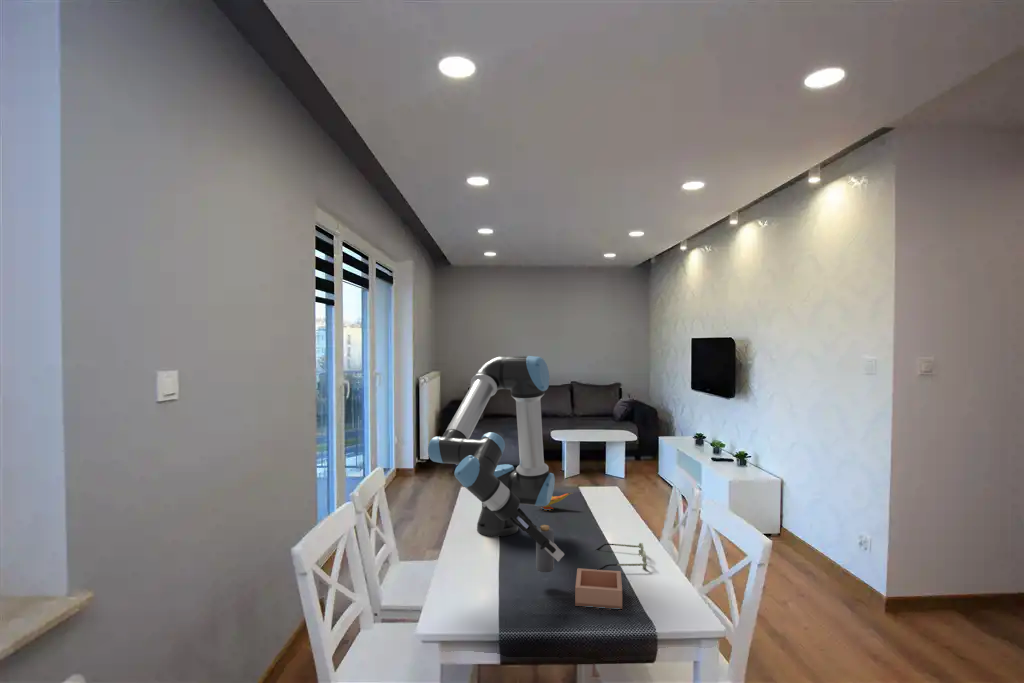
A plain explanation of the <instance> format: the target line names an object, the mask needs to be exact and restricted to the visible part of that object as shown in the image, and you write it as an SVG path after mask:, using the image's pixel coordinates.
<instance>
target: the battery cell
mask: <svg viewBox="0 0 1024 683" xmlns="http://www.w3.org/2000/svg"><path fill="white" fill-rule="evenodd" d="M537 529H538V530H539V531H540V532H541V533H542V534H543V535H544V536H545V537H546V538H548V539H549V540H550V541H551V542H552V543H553V544H554V543H555V538H554V537H555V535H554V534H555V531H554V528H553V527H550V525H548V524H541V525H540V526H539V527H537ZM540 547H541V545H540V544H538V543H537V542H536V541H535V555H536V556H535V567H536V568H535V569H536V570H537V571H538V572H540V573H551V572H553V571H554V569H555V558H554V557H553V556H551V555H550V554H549V553H548V552H547V551H546V550H545V549H544V548H543V549H542V550H541V549H540Z"/></svg>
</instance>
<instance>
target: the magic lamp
mask: <svg viewBox="0 0 1024 683" xmlns="http://www.w3.org/2000/svg"><path fill="white" fill-rule="evenodd" d="M573 494H574V492H566V493H563V494H562V495H559V496H555V495H554V496H553V495H552V498H551V501H550V502H549V504H548V505H546V506H542V507H543V508H544V509H553V510H554V507H552V506H551V505H554V504H557V503H559V502H561V501H562V500H564V499H565V498H566V497H568V496H569V495H573Z"/></svg>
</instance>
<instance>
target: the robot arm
mask: <svg viewBox="0 0 1024 683" xmlns="http://www.w3.org/2000/svg"><path fill="white" fill-rule="evenodd" d="M549 386H550V372H549V368H548V365H547V362H546V360H545V359H544V358H542V357H541V356H533V355H499V356H495V357H493V358H491V359H489V360H488V361H486V362H485V363H483V364H482V365H481V366H480V367H479V368H478V369H477V370H476V371H475V373H474V374H473V376H472V378H471V379H470V387H469V389H468V390H467V393H466V394H465V396H464V398H463V399H462V401H461V403H460V405H459V407H458V409H457V410H456V412H455V414H454V416H453V417H452V419H451V421H450V423H449V424H448V425H447V428H446V429H445V430H444V431H445V432H444V433H443V434H442V436H440V435H439V436H434V437H432V438H431V439H430V441H429V443H428V446H427V447H428V448H427V454H428V457H429V460H431V461H432V462H434V463H438V464H439V463H440V464H452V465H453V464H455V465H457V466H456V467H455V470H454V477H455V478H456V480H457V481H458V482H459V483H460V484H461V485H462V487H464V488H465V489H467V491H469V492H470V493H471V494H472V495H473V496H475V498H476V499H478V500H479V502H481V510H480V513H479V517H478V520H477V524H476V531H477V533H478V534H480V533H481V535H483V536H486V535H487V537H493V536H501V537H508V536H511V535H514V534H516V533H518V531H519V529H521V531H523V532H525V533H527V535H529V536H530V537H531V538H532V539H533V541H535V543H536V542H537V543H538V544H540V545H541V547H540V549H541V550H542V549H543V548H544V549H545V550H546V551H547V552H548V553H549V554H550V555H551V556H553V557H554V560H556V561H557V562H558V563H559V562H560V561H561V559H562V558H563V557H564V556H565V553H564V551H562V550H561V549H560V548H559V546H557V544H556V543H555V542H554V544H553V543H552V542H551V541H550V540H549V539H548V538H546V537H545V536H544V535H543V534H542V533H541V532H540V531H539V530H538V529H537V528H538V527H537V525H536V524H534V523H533V521H532V520H531V518H529V517H528V516H527V515H526V513H525V512H524V511H523V509H521V508H520V505H525V506H526V505H527V506H535V507H544V506H546V505H548V504H549V502H550V501H551V498H552V496H553V494H554V490H555V484H556V482H555V481H556V478H555V474H554V473H552V472H550V471H549V468H550V467H549V465H548V464H547V463H545V458H544V442H543V424H542V423H543V421H542V404H541V403H542V402H541V400H542V399H541V398H542V397H543V396H545V391H547V390H548V389H549ZM499 390H510V395H511V396H510V397H512V398H513V399H514V400H515V408H516V409H515V410H516V423H517V424H516V426H517V427H516V428H517V438H518V441H517V442H518V453H519V454H518V455H519V465H517V467H514V465H513V464H508V463H507V464H499V463H500V461H501V459H502V457H503V455H504V454H503V453H504V451H505V448H506V442H505V440H504V438H503V437H502V436H501V435H499V434H498V433H496V432H491V431H490V432H486V433H484V434H483V435H482V436H481V438H480V439H477V438H471V437H472V434H473V431H474V430H475V428H476V426H477V425H478V422H479V420H480V418H481V416H482V414H483V412H484V410H485V408H486V407H487V404H488V403H489V401H490V399H491V398H492V397H493V396H495V394H496V393H497V392H498V391H499Z"/></svg>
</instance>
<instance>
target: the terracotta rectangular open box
mask: <svg viewBox="0 0 1024 683" xmlns="http://www.w3.org/2000/svg"><path fill="white" fill-rule="evenodd" d="M621 572H622V571H621V570H607V569H602V570H597V569H592V568H579V567H578V568H577V570H576V578H575V587H574V588H575V590H574V592H575V593H574V595H575V596H574V597H575V599H574V602H575V604H574V606H593V607H605V608H620V609H622V610H623V585H622V584H623V583H622V573H621Z"/></svg>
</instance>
